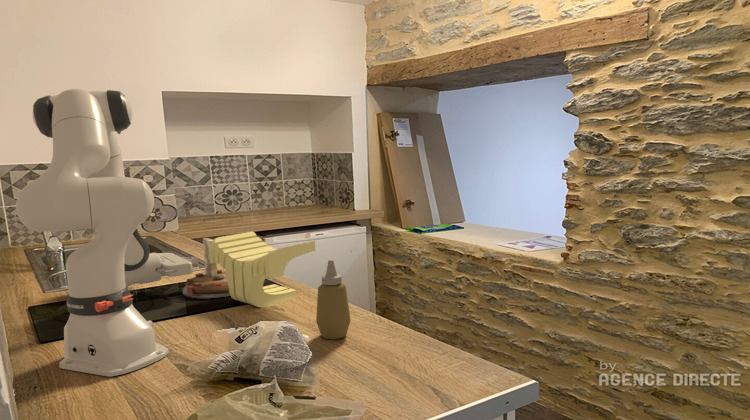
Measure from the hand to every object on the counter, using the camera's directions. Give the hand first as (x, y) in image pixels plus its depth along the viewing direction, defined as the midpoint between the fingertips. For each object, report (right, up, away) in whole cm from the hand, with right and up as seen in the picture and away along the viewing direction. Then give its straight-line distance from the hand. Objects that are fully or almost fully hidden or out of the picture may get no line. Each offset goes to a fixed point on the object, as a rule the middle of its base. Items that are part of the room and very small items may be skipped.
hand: (196, 260), depth 164 cm
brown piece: (+8, -8, -1) cm, 11 cm away
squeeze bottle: (+48, -14, -44) cm, 66 cm away
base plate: (+8, -9, -1) cm, 12 cm away
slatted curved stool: (+24, -10, -14) cm, 30 cm away
